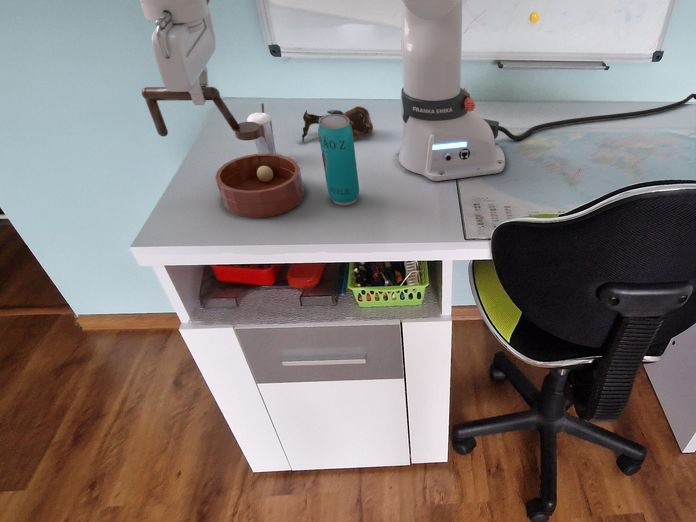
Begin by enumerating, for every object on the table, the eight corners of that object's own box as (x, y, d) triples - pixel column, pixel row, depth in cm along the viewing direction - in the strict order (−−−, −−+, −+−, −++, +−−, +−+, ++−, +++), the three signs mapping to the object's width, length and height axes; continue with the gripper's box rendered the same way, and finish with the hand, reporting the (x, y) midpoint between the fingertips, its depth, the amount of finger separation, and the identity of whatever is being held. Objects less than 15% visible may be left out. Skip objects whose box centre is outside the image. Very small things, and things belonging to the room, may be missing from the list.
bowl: (306, 176, 107) (302, 152, 104) (301, 216, 97) (295, 191, 94) (230, 178, 106) (223, 154, 102) (216, 219, 96) (208, 194, 92)
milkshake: (284, 152, 114) (273, 104, 107) (275, 164, 110) (264, 115, 103) (263, 150, 114) (251, 102, 107) (253, 162, 110) (240, 113, 103)
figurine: (374, 141, 119) (371, 113, 115) (302, 143, 117) (297, 115, 113) (373, 126, 124) (370, 99, 120) (304, 128, 122) (299, 101, 118)
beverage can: (330, 191, 104) (318, 113, 93) (361, 191, 104) (352, 113, 93) (328, 207, 100) (314, 127, 89) (359, 207, 100) (349, 127, 89)
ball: (275, 177, 105) (272, 162, 103) (273, 184, 103) (270, 170, 101) (259, 177, 105) (256, 163, 103) (257, 185, 103) (254, 170, 101)
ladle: (263, 129, 96) (252, 82, 90) (260, 140, 93) (248, 92, 87) (161, 130, 94) (143, 82, 88) (154, 142, 91) (135, 92, 85)
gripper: (179, 23, 72) (210, 126, 82) (209, -15, 86) (232, 77, 96) (129, 23, 71) (166, 126, 81) (168, -15, 85) (195, 77, 95)
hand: (202, 99), depth 89 cm, fingers closed on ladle, 2 cm apart
